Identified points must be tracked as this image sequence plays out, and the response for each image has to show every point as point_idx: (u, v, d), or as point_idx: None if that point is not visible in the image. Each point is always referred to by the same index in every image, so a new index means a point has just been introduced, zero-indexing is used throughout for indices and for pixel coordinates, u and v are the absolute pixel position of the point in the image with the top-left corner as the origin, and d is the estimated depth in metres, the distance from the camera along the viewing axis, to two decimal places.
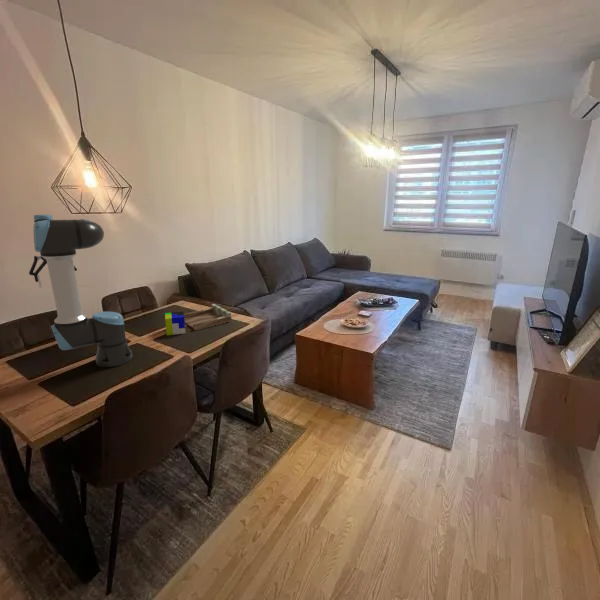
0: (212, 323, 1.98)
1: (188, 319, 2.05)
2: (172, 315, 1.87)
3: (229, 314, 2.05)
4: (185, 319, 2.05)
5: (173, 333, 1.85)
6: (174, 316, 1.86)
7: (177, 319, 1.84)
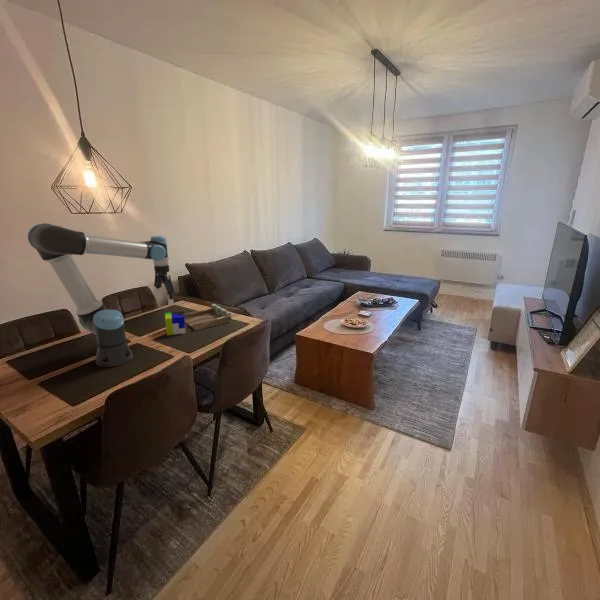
0: (212, 323, 1.98)
1: (188, 319, 2.05)
2: (172, 315, 1.87)
3: (229, 314, 2.05)
4: (185, 319, 2.05)
5: (173, 333, 1.85)
6: (175, 316, 1.86)
7: (177, 319, 1.84)
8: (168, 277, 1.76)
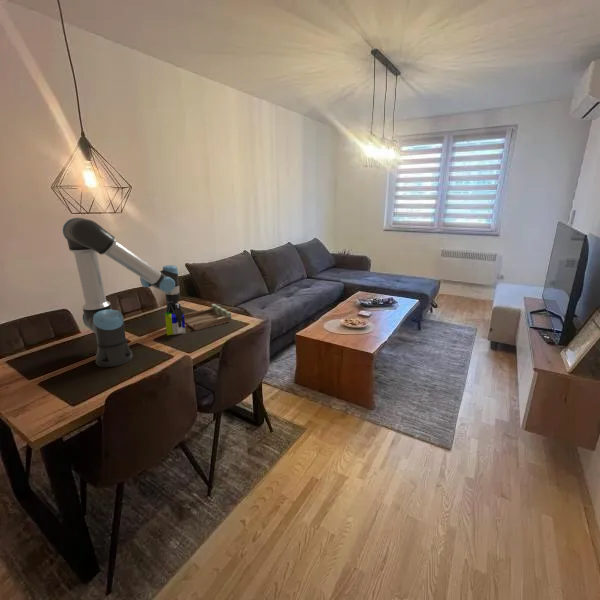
0: (212, 323, 1.98)
1: (188, 319, 2.05)
2: (171, 315, 1.87)
3: (229, 314, 2.05)
4: (185, 319, 2.05)
5: (173, 333, 1.85)
6: (174, 316, 1.86)
7: None
8: (178, 306, 1.80)
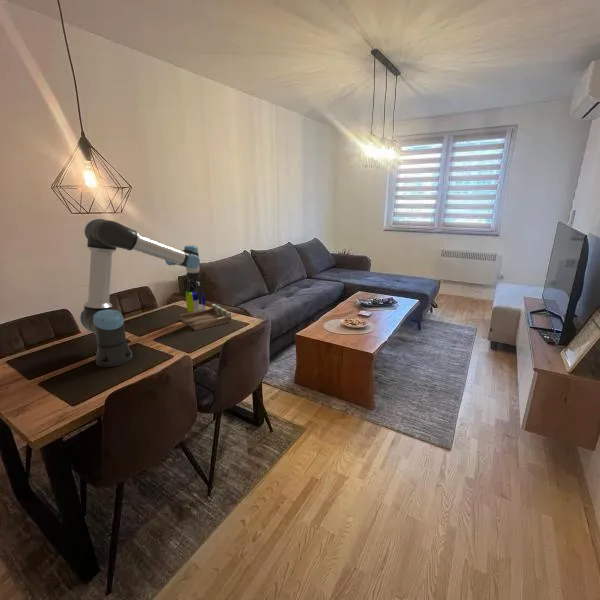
0: (212, 323, 1.98)
1: (188, 319, 2.05)
2: (192, 293, 1.97)
3: (229, 314, 2.05)
4: (185, 319, 2.05)
5: (194, 310, 1.96)
6: (195, 293, 1.96)
7: None
8: (199, 284, 1.91)
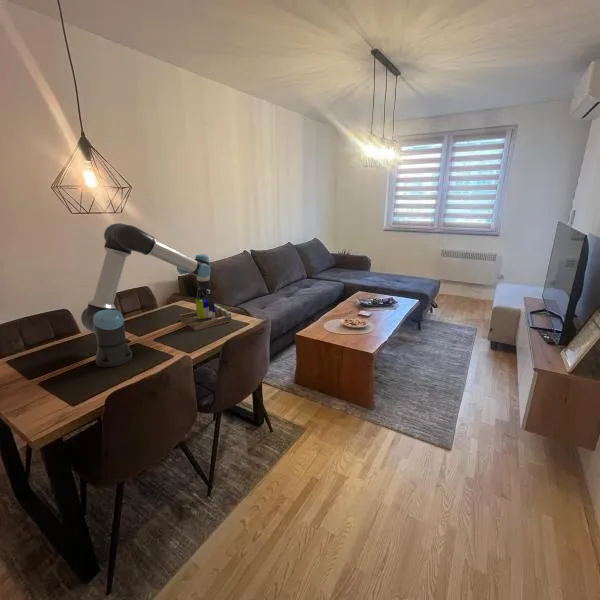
0: (212, 323, 1.98)
1: (188, 319, 2.05)
2: (202, 300, 2.03)
3: (229, 314, 2.05)
4: (185, 319, 2.05)
5: (204, 317, 2.01)
6: (205, 301, 2.02)
7: None
8: (209, 292, 1.97)
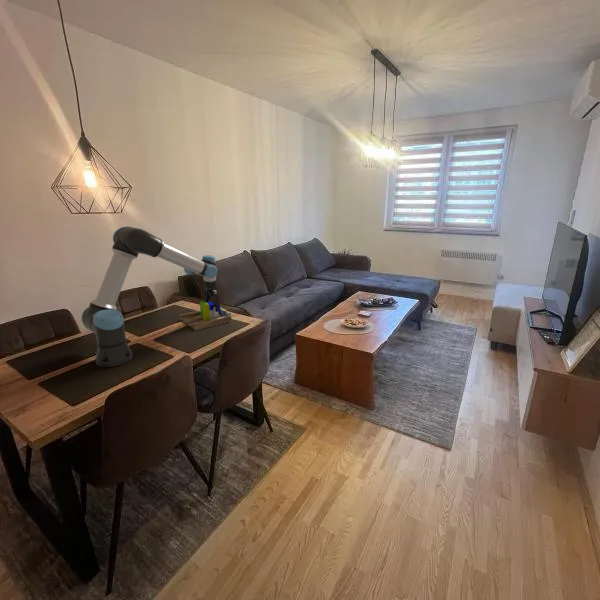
0: (212, 323, 1.98)
1: (188, 319, 2.05)
2: (207, 303, 2.06)
3: (229, 314, 2.05)
4: (185, 319, 2.05)
5: (210, 319, 2.04)
6: (211, 303, 2.05)
7: None
8: (216, 292, 2.00)
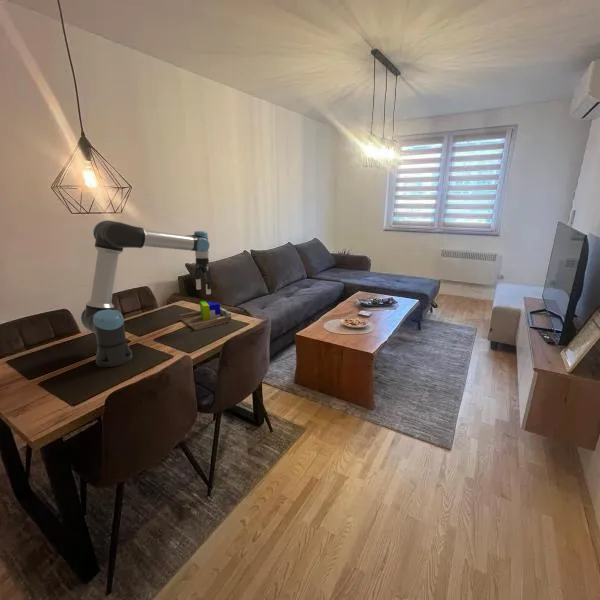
0: (212, 323, 1.98)
1: (188, 319, 2.05)
2: (207, 303, 2.06)
3: (229, 314, 2.05)
4: (185, 319, 2.05)
5: (210, 319, 2.04)
6: (211, 303, 2.05)
7: (214, 306, 2.03)
8: (207, 268, 1.92)
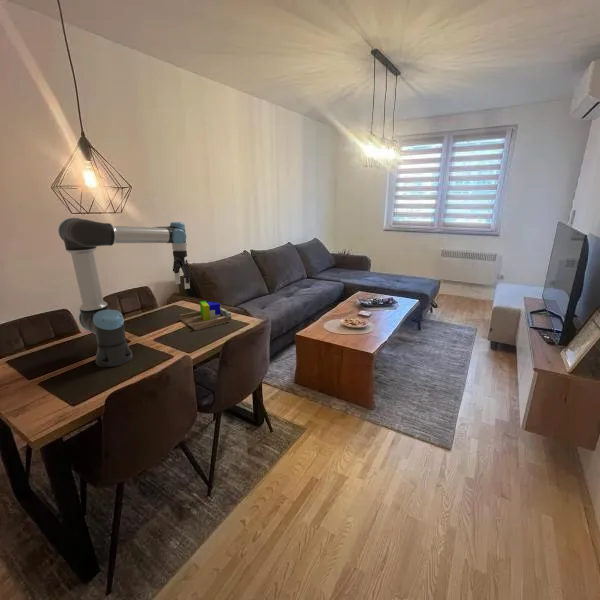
0: (212, 323, 1.98)
1: (188, 319, 2.05)
2: (207, 303, 2.06)
3: (229, 314, 2.05)
4: (185, 319, 2.05)
5: (210, 319, 2.04)
6: (211, 303, 2.05)
7: (214, 306, 2.03)
8: (185, 262, 1.82)
